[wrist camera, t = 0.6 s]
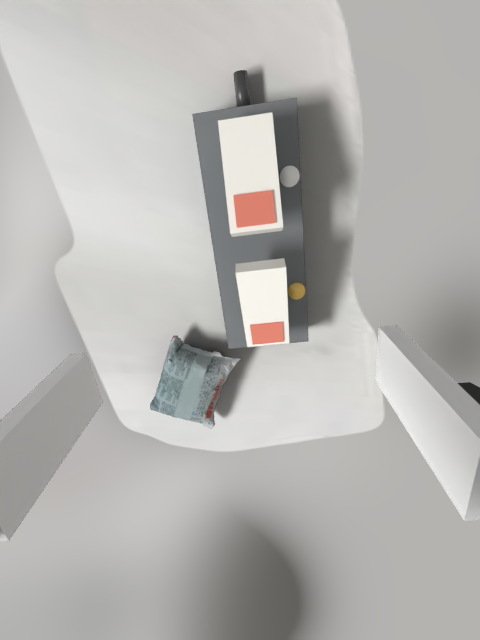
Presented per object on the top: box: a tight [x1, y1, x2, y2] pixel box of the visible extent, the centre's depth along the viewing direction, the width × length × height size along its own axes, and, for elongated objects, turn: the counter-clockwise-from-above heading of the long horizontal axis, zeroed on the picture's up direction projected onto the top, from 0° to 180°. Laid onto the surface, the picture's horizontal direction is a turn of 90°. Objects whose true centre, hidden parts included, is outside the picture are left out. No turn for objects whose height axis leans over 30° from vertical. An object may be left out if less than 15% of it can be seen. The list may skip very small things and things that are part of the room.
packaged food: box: [150, 336, 242, 429], centre depth 40 cm, size 9×12×5 cm
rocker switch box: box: [192, 70, 308, 349], centre depth 32 cm, size 26×9×5 cm, turn 7°
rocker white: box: [218, 112, 283, 237], centre depth 26 cm, size 9×4×2 cm, turn 7°
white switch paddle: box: [235, 258, 289, 347], centre depth 31 cm, size 9×4×2 cm, turn 7°
